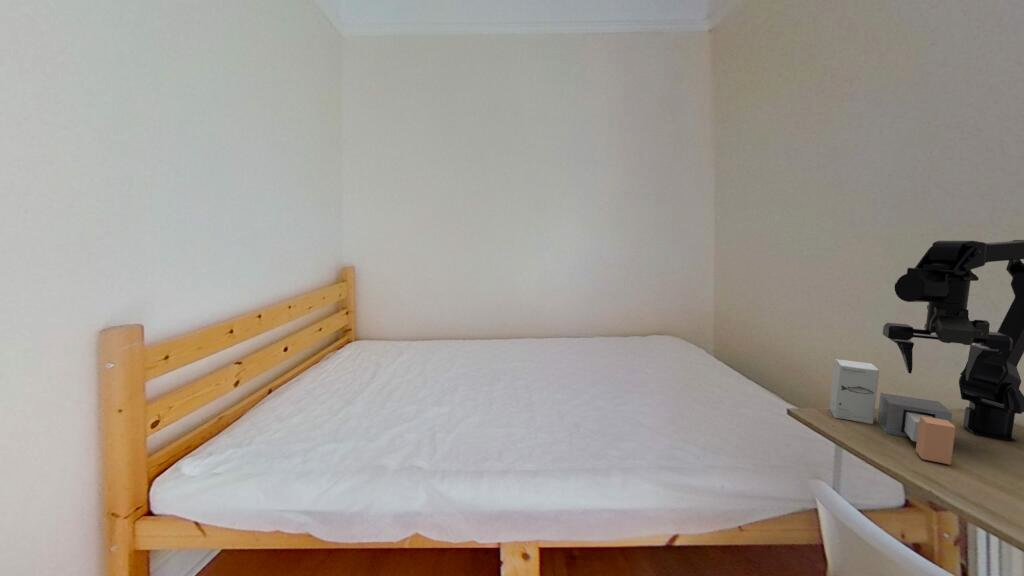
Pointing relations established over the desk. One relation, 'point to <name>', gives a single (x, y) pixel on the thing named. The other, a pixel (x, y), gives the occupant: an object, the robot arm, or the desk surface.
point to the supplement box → (854, 390)
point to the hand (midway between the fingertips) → (938, 376)
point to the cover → (931, 437)
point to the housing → (898, 406)
